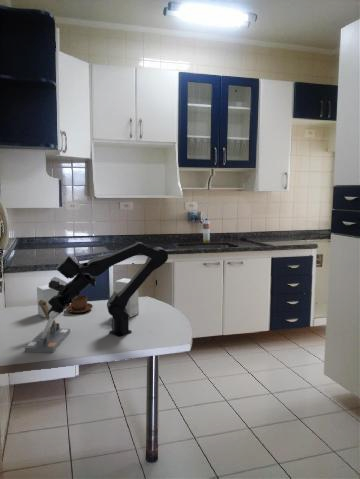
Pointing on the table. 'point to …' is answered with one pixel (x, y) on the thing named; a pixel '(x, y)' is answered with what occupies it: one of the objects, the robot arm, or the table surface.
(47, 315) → the walnut lever
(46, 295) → the supplement box
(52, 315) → the steel lever
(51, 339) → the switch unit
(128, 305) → the skincare box
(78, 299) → the cup and saucer
